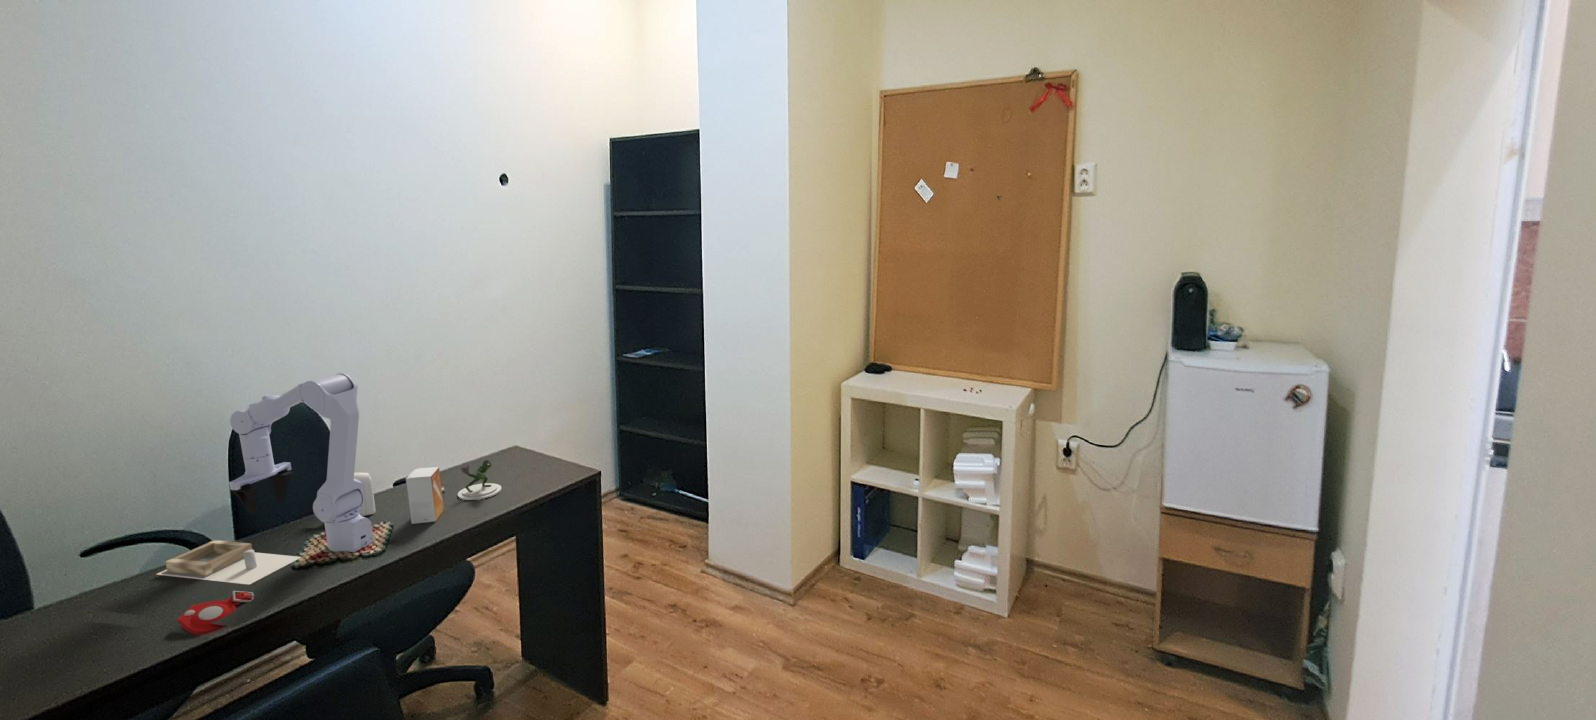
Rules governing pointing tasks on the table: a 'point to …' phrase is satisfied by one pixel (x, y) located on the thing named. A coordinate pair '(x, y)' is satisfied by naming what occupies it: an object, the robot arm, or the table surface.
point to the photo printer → (366, 494)
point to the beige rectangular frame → (190, 559)
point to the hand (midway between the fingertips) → (266, 506)
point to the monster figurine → (479, 489)
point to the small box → (425, 495)
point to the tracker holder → (211, 613)
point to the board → (242, 568)
